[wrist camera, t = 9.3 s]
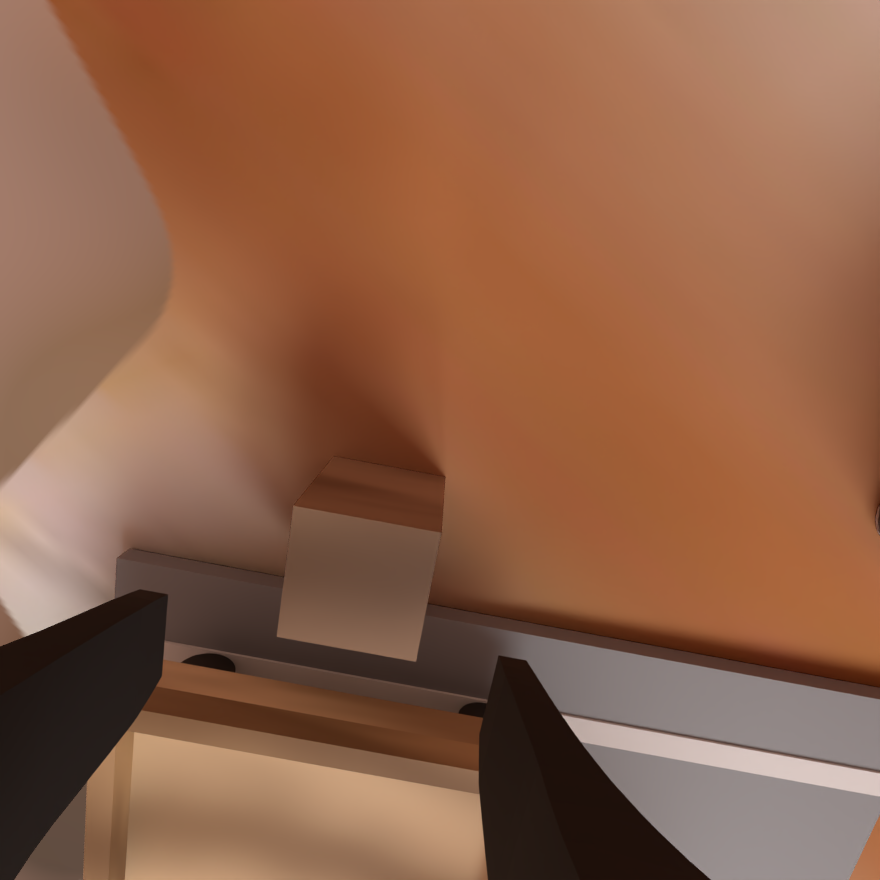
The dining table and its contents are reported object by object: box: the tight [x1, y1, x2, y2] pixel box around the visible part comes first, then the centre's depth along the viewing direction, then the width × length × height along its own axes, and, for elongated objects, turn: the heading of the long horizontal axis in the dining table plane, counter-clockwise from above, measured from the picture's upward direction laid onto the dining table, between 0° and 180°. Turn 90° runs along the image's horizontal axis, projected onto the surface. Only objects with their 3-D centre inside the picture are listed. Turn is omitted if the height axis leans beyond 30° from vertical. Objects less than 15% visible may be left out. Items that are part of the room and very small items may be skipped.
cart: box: [83, 653, 488, 880], centre depth 19 cm, size 12×14×4 cm
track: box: [115, 549, 880, 880], centre depth 22 cm, size 16×30×1 cm, turn 79°
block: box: [277, 456, 445, 662], centre depth 17 cm, size 4×4×5 cm
